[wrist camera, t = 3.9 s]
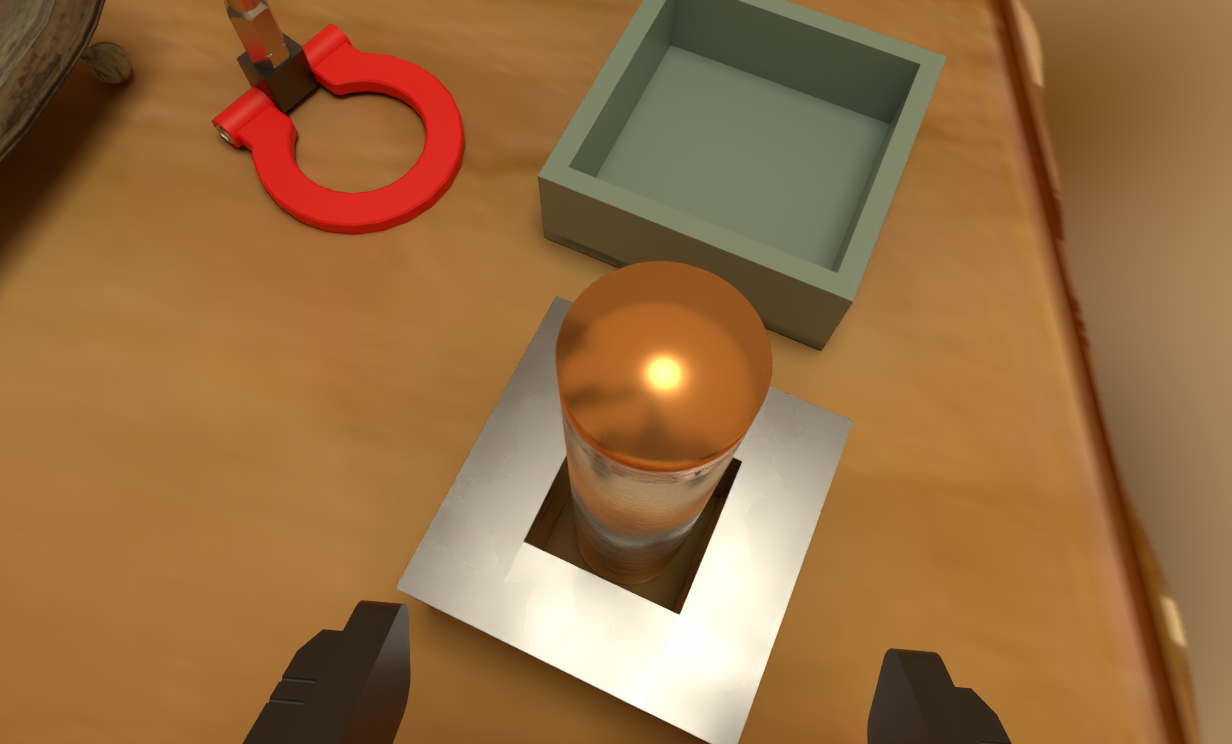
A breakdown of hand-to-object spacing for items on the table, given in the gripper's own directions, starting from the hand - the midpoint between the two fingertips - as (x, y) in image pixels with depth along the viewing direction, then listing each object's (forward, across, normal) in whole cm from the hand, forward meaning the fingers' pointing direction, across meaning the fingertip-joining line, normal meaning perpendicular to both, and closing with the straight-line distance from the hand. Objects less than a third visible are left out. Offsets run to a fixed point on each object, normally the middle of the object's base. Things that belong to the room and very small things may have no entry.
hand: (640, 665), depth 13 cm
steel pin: (+12, 0, +6) cm, 14 cm away
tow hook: (+23, +13, -5) cm, 27 cm away
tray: (+23, -3, -5) cm, 24 cm away
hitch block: (+12, 0, +6) cm, 14 cm away
